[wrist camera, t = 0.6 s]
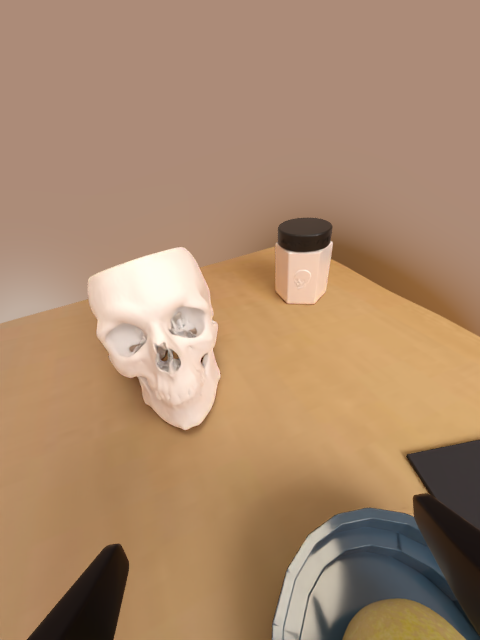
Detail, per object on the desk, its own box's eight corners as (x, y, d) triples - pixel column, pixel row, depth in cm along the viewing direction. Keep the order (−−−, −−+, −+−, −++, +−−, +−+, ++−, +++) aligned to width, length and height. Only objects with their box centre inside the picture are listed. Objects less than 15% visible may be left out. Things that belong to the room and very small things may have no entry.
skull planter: (116, 473, 22) (28, 258, 18) (141, 386, 41) (101, 272, 37) (259, 415, 25) (208, 222, 21) (220, 359, 44) (191, 252, 40)
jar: (274, 304, 43) (273, 236, 36) (276, 280, 49) (276, 218, 42) (328, 305, 41) (339, 234, 34) (323, 281, 48) (332, 216, 40)
